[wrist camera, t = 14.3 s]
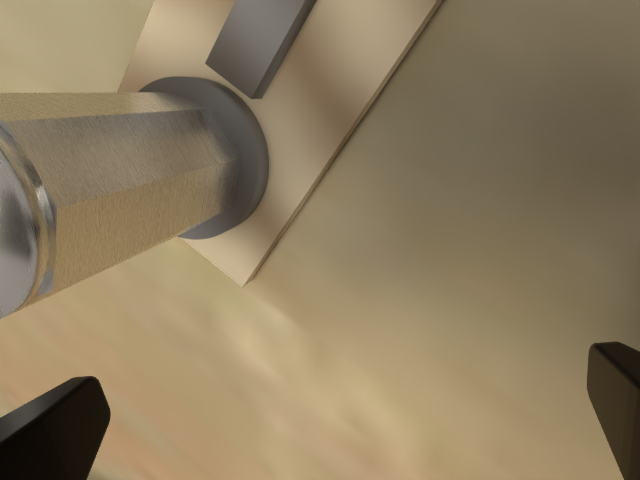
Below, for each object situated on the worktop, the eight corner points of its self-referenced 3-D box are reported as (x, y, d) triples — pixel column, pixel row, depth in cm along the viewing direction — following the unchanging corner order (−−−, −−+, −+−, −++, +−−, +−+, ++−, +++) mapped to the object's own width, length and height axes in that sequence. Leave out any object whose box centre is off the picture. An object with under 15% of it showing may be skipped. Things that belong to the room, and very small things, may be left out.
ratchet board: (251, 280, 23) (195, 325, 19) (103, 159, 24) (15, 175, 20) (546, -152, 15) (573, -256, 11) (304, -315, 16) (232, -478, 11)
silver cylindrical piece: (261, 192, 19) (67, 280, 10) (169, 242, 22) (-56, 350, 13) (196, 70, 19) (-72, 50, 10) (108, 135, 21) (-174, 167, 12)
